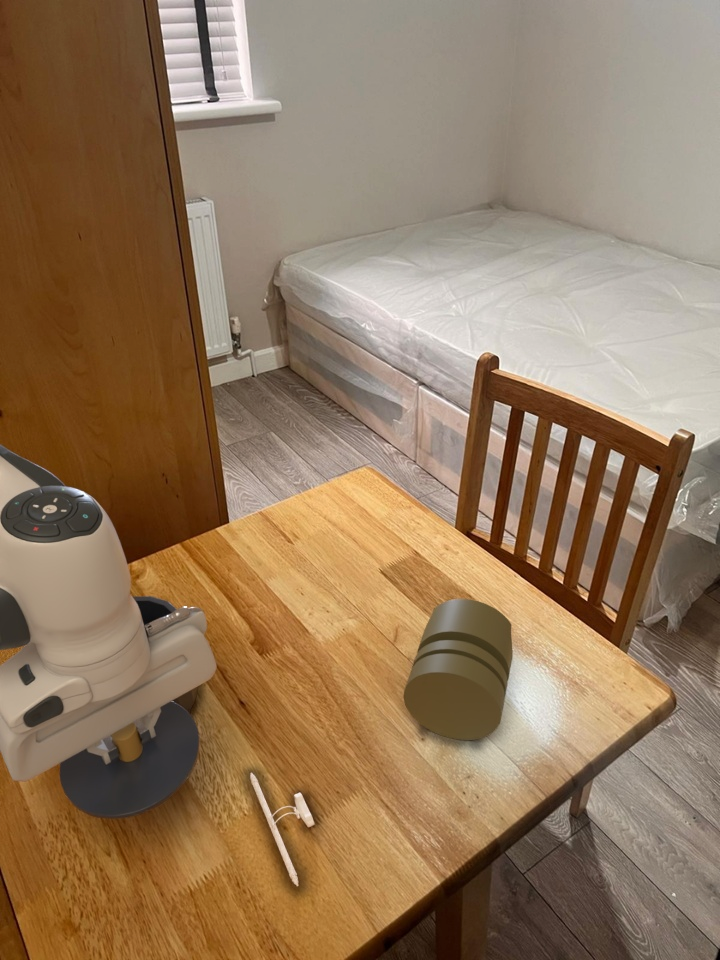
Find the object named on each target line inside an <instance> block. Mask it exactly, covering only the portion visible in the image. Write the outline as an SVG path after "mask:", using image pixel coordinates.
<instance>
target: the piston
mask: <svg viewBox="0 0 720 960" xmlns="http://www.w3.org/2000/svg"><path fill="white" fill-rule="evenodd" d="M513 651H514V650H513V639H512V623H511V622H510V620H509V619H508V618H507V617H506V616H505V615H504V614H503V613H502V612H501V611H499V609H496V608H495V607H493V606H491V605H489V604H488V603H485V602H482V601H479V600H474V599H470V598H469V599H468V598H456V599H450V600H446V601H444V602H441V603H439V604H438V605H437V606H435V607H434V608H433V611H432V613H431V614H430V617H429V619H428V621H427V623H426V625H425V627H424V630H423V632H422V636H421V639H420V642H419V644H418V649H417V651H416V655H415V658H414V660H413V663H412V666H411V670H410V672H409V675H408V679H407V681H406V684H405V688H404V691H403V702H404V705H405V707H406V709H407V712H409V714H410V715H411V716H412V718H413V719H414V720H415V721H416V722H417V723H419V724H420V725H421V726H423V727H424V728H426V729H427V730H429V731H431V732H432V733H435V734H437V735H440V736H443V737H446V738H449V739H454V740H459V741H461V740H462V741H473V740H479V739H484V738H485V737H488V736H490V735H491V734H493V733H494V732H495V731H496V730H498V728H499V726H500V724H501V721H502V715H503V710H504V705H505V701H506V699H505V698H506V696H507V695H506V694H507V689H508V682H509V678H510V673H511V668H512V664H513V663H512V662H513V657H514V656H513V654H514V652H513Z"/></svg>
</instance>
